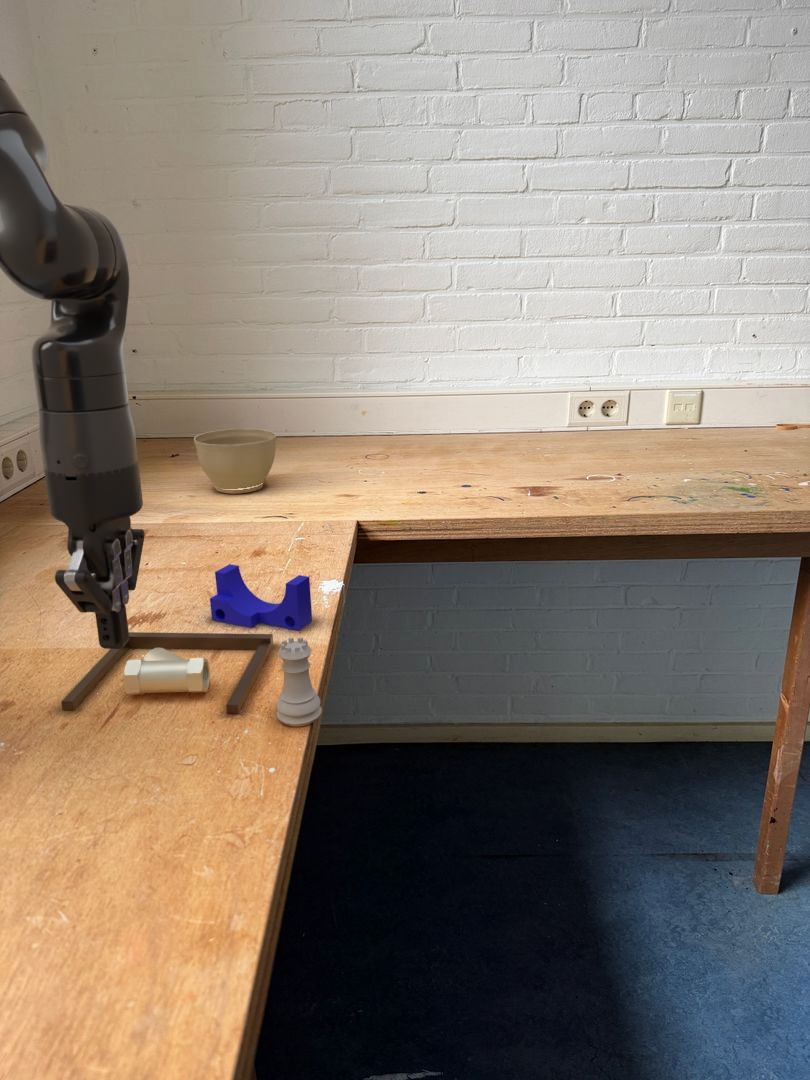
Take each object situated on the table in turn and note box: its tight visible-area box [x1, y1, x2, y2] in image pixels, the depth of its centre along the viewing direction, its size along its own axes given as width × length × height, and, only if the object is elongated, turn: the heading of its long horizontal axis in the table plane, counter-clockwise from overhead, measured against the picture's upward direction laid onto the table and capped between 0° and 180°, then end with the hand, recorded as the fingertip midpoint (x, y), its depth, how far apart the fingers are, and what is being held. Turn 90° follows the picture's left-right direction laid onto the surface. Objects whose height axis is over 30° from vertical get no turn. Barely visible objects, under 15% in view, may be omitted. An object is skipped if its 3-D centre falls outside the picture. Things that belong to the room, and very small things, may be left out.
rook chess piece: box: [275, 636, 323, 727], centre depth 77 cm, size 4×4×8 cm
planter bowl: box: [193, 428, 277, 495], centre depth 161 cm, size 16×16×11 cm
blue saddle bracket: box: [209, 563, 313, 632], centre depth 99 cm, size 12×4×6 cm, turn 65°
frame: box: [60, 631, 274, 714], centre depth 87 cm, size 18×15×2 cm
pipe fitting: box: [123, 648, 211, 696], centre depth 85 cm, size 8×4×7 cm
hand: (114, 645), depth 73 cm, fingers closed
